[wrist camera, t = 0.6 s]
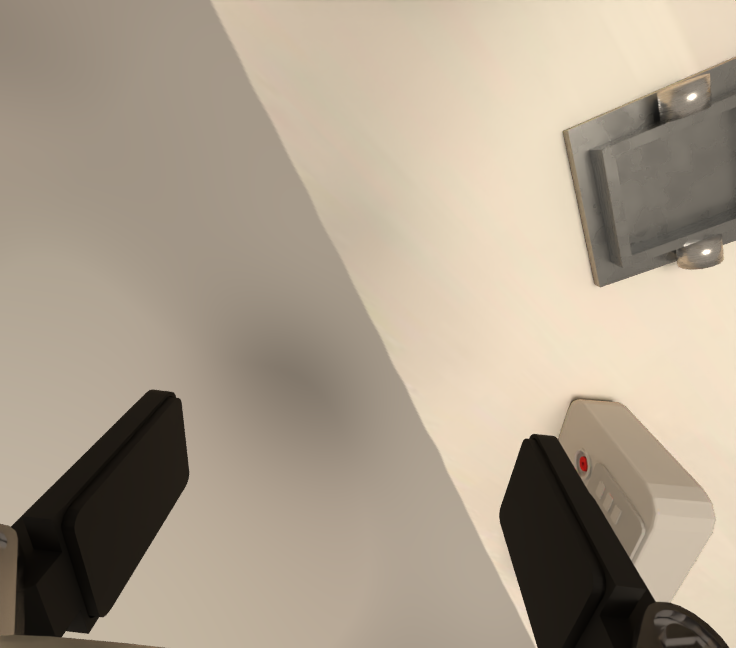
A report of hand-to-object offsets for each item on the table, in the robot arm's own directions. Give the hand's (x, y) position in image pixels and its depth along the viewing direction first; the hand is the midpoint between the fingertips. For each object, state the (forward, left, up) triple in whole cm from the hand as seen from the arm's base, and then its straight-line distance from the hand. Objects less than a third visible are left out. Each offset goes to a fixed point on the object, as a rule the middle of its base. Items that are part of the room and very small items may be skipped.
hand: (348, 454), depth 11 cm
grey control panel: (+43, +11, -36) cm, 57 cm away
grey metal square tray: (+7, +29, -35) cm, 46 cm away
